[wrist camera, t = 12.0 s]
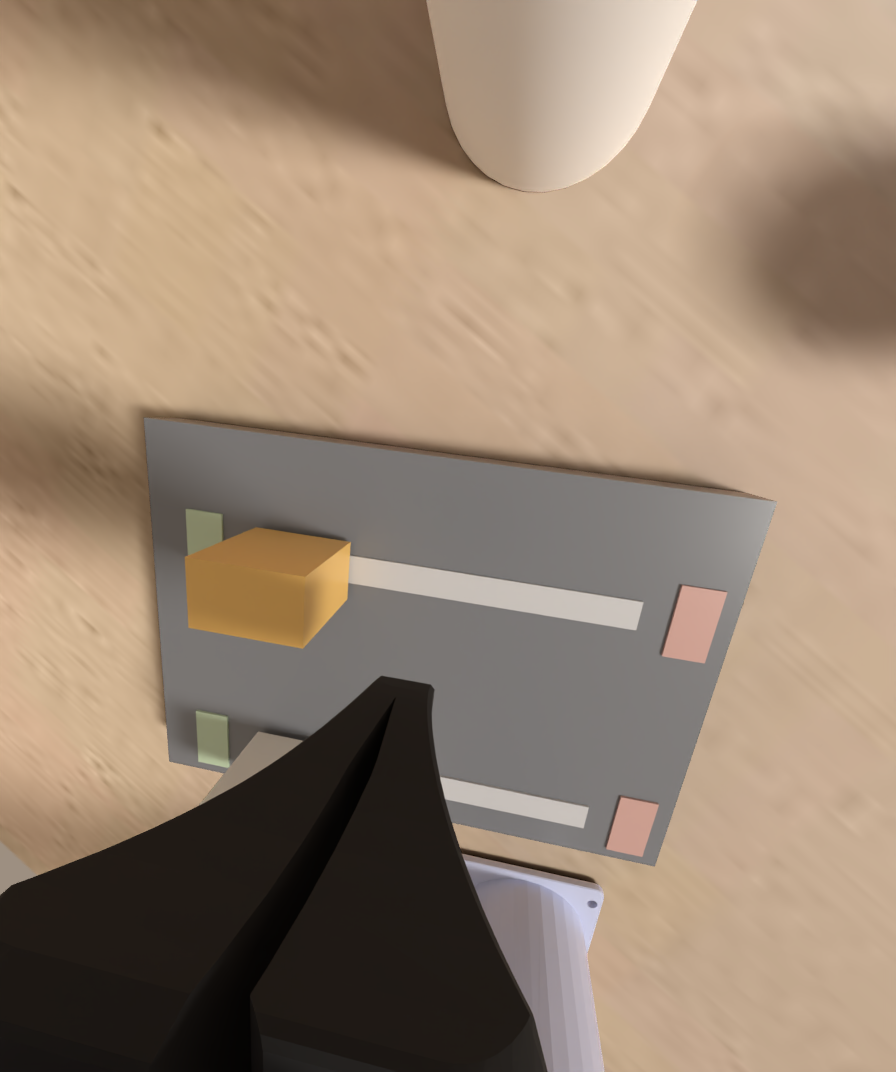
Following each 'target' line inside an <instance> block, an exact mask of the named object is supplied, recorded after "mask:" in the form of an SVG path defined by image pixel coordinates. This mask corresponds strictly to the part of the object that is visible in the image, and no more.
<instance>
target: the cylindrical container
mask: <svg viewBox="0 0 896 1072" xmlns="http://www.w3.org/2000/svg"><path fill="white" fill-rule="evenodd" d="M426 2H427V7H428V13H429V18H430V23H431V29H432V34H433V39H434V44H435V50H436V55H437V60H438V66H439V71H440V76H441V82H442V87H443V92H444V98H445V103H446V107H447V111H448V114H449V118H450V122H451V126H452V128H453V130H454V133H455V135H456V137H457V139H458V141H459V143H460V145H461V147H462V149H463V150H464V151H465V153H466V154H467V155H468V157H469V158H470V159H471V161H472V162H473V163H474V164H475V165H476V166H477V167H478V168H479V169H480V170H481V171H482V172H483V173H485V174H486V175H487V176H488V177H490V178H492V179H493V180H495V181H497V182H499V183H500V184H502V185H504V186H507V187H511V188H514V189H517V190H521V191H528V192H548V191H553V190H558V189H563V188H567V187H569V186H572V185H574V184H576V183H579V182H581V181H583V180H585V179H587V178H589V177H590V176H592V175H593V174H595V173H596V172H598V171H599V170H600V169H602V168H603V167H605V166H606V165H607V164H608V163H609V162H610V161H611V160H612V159H613V158H614V157H615V156H616V155H617V154H618V153H619V152H620V151H622V149H623V148H624V147H625V145H626V144H627V143H628V141H629V140H630V139H631V137H632V136H633V135H634V133H635V132H636V131H637V129H638V127H639V125H640V123H641V122H642V120H643V118H644V116H645V114H646V112H647V110H648V109H649V107H650V104H651V102H652V100H653V98H654V95H655V93H656V91H657V89H658V87H659V84H660V82H661V80H662V78H663V76H664V73H665V71H666V69H667V67H668V64H669V62H670V60H671V58H672V56H673V53H674V51H675V49H676V47H677V45H678V42H679V40H680V38H681V36H682V33H683V31H684V29H685V27H686V25H687V22H688V20H689V18H690V16H691V14H692V11H693V9H694V7H695V5H696V2H697V0H426Z"/></svg>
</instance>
